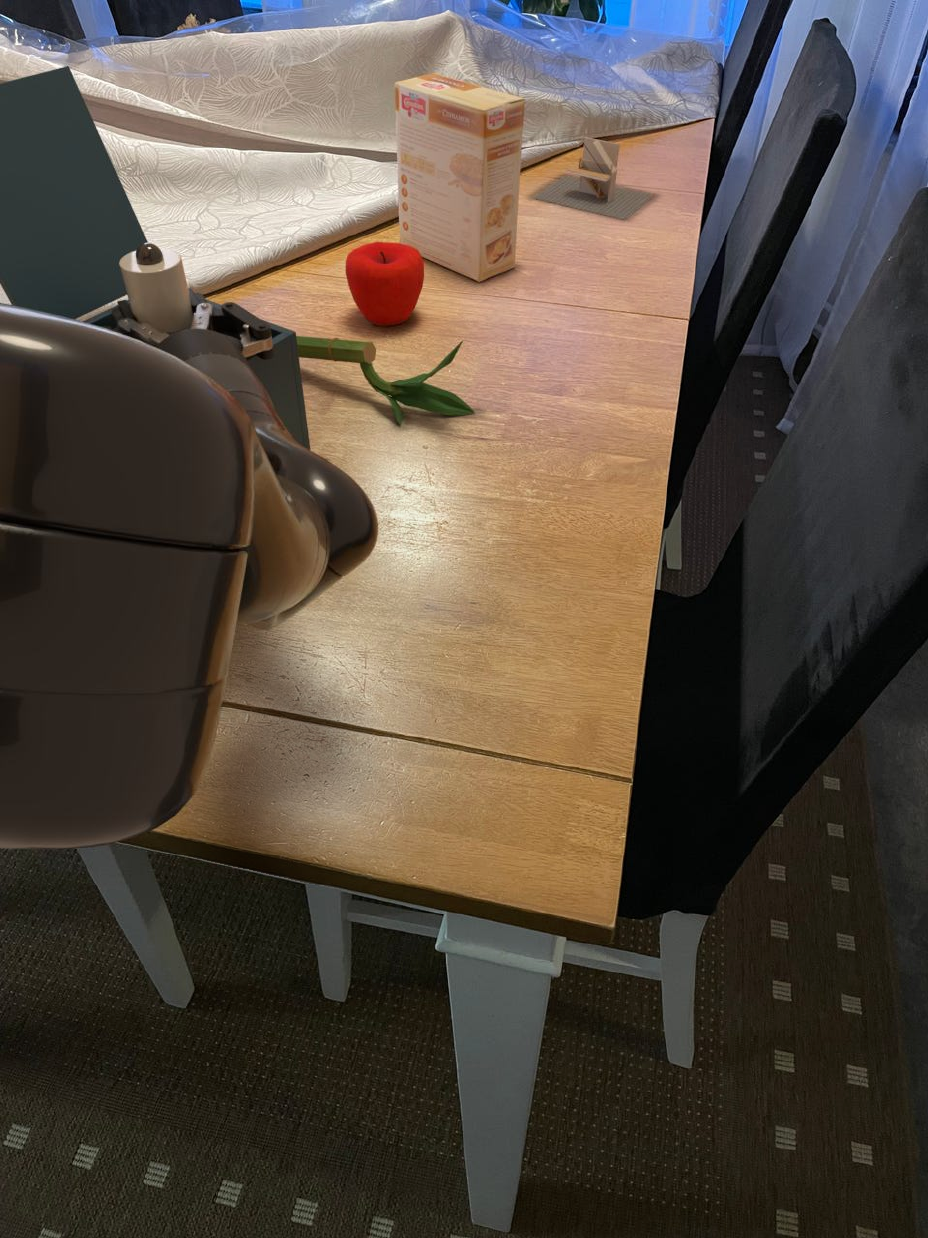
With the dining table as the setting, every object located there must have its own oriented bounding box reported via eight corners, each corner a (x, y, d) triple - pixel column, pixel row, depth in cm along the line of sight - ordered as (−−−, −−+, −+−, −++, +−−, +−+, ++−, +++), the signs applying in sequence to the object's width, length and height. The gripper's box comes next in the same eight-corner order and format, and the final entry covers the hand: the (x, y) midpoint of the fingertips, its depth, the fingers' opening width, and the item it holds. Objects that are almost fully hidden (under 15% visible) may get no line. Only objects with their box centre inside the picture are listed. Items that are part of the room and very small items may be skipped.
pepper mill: (149, 404, 73) (109, 257, 64) (156, 375, 76) (119, 232, 67) (206, 401, 73) (174, 255, 65) (210, 373, 76) (180, 230, 68)
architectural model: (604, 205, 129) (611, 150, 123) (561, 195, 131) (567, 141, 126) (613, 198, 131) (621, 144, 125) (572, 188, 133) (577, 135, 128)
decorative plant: (251, 313, 98) (483, 330, 84) (265, 387, 102) (488, 414, 88) (211, 327, 93) (449, 346, 79) (228, 403, 98) (456, 434, 84)
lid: (68, 65, 69) (63, 67, 69) (-92, 106, 61) (-97, 109, 61) (164, 277, 78) (158, 278, 78) (35, 337, 70) (30, 338, 70)
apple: (401, 293, 107) (399, 228, 102) (439, 323, 102) (439, 256, 96) (336, 311, 104) (330, 244, 98) (371, 342, 98) (367, 274, 93)
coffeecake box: (516, 267, 113) (527, 97, 99) (478, 283, 110) (484, 109, 96) (435, 233, 120) (435, 70, 107) (397, 247, 117) (392, 80, 103)
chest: (312, 464, 82) (296, 331, 72) (207, 542, 74) (173, 403, 64) (192, 412, 88) (162, 282, 78) (82, 479, 80) (34, 343, 70)
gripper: (303, 334, 61) (233, 244, 72) (91, 380, 56) (50, 275, 67) (315, 427, 66) (248, 330, 77) (122, 476, 62) (79, 365, 72)
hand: (156, 305), depth 72 cm, fingers closed on pepper mill, 4 cm apart
